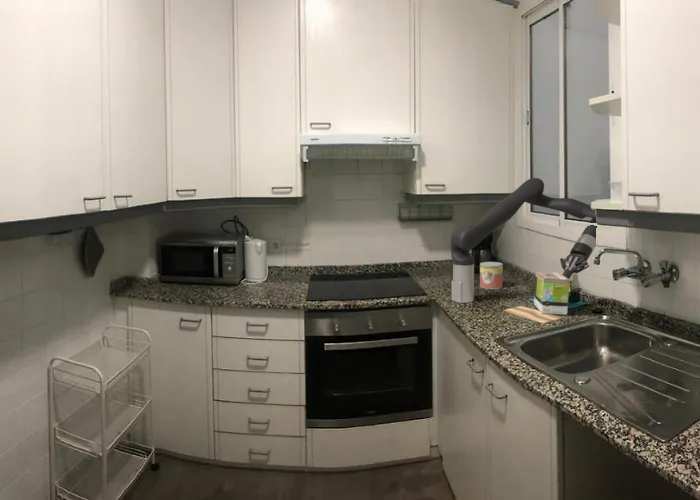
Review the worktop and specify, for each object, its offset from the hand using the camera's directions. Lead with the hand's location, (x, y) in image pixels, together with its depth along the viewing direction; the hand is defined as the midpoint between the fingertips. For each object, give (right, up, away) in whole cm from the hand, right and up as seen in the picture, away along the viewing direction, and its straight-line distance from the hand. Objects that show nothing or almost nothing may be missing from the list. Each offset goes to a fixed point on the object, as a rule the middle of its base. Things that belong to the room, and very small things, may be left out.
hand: (564, 278), depth 181 cm
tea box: (-7, -13, -2) cm, 15 cm away
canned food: (-17, -7, +42) cm, 46 cm away
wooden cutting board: (-17, -14, -7) cm, 23 cm away
